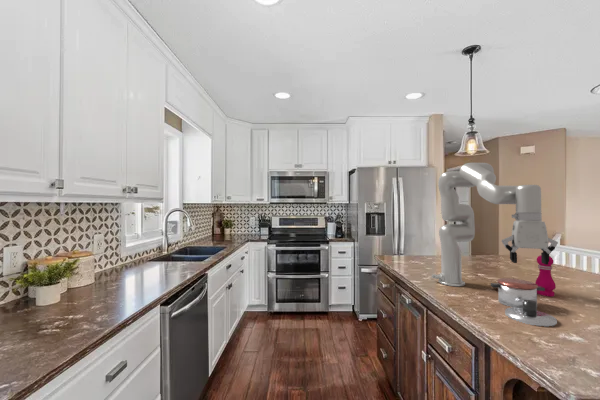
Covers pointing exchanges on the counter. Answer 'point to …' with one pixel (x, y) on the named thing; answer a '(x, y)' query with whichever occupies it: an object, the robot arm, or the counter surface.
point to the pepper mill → (545, 278)
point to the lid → (530, 315)
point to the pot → (516, 291)
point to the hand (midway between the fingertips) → (529, 263)
